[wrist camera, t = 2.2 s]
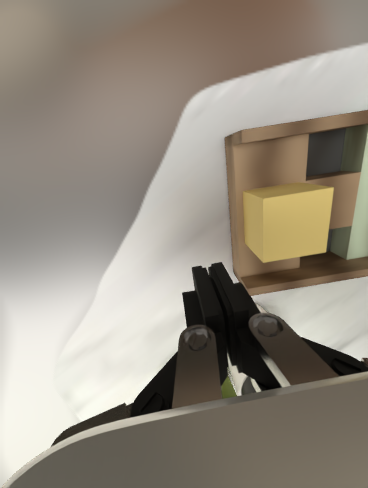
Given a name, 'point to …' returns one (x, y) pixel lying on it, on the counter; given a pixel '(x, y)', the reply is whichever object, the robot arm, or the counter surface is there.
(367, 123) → the wooden tray
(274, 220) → the block
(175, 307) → the counter surface
